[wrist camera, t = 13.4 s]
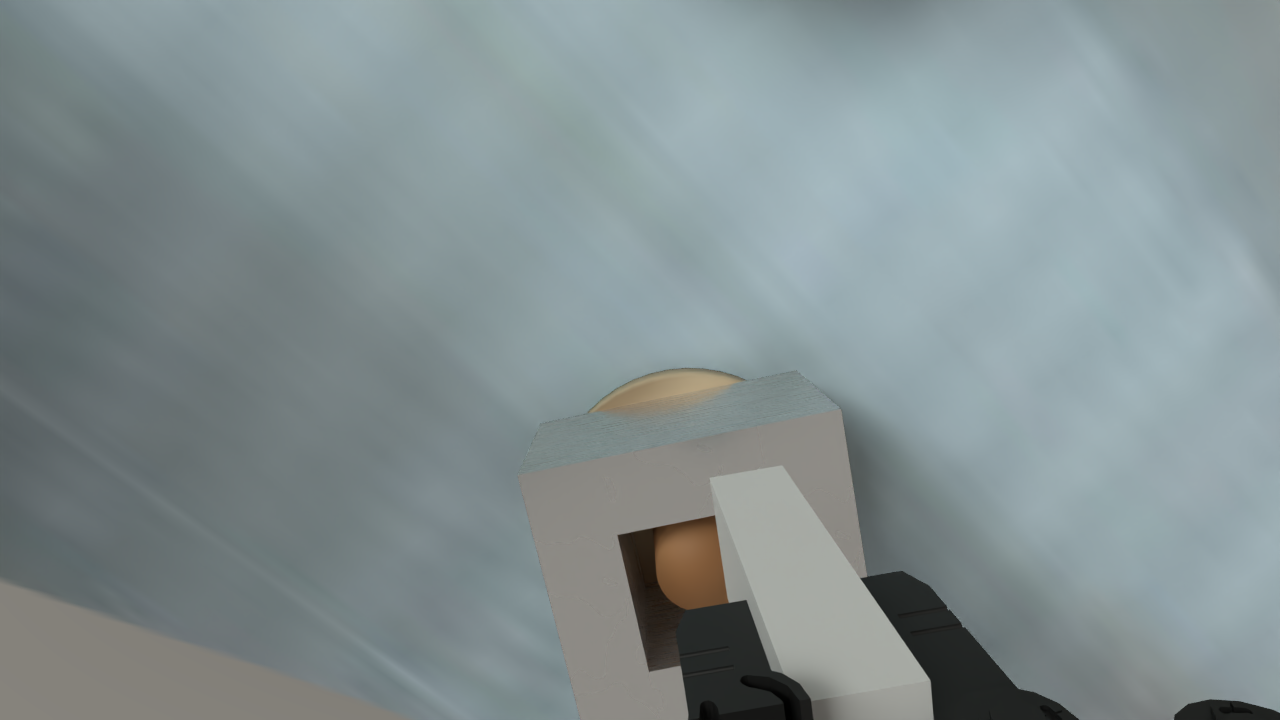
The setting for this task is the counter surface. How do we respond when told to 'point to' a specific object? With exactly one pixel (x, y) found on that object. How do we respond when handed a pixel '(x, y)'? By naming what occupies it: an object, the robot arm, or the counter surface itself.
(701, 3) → the counter surface
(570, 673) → the white boxy piece
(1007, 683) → the robot arm
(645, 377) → the hub
